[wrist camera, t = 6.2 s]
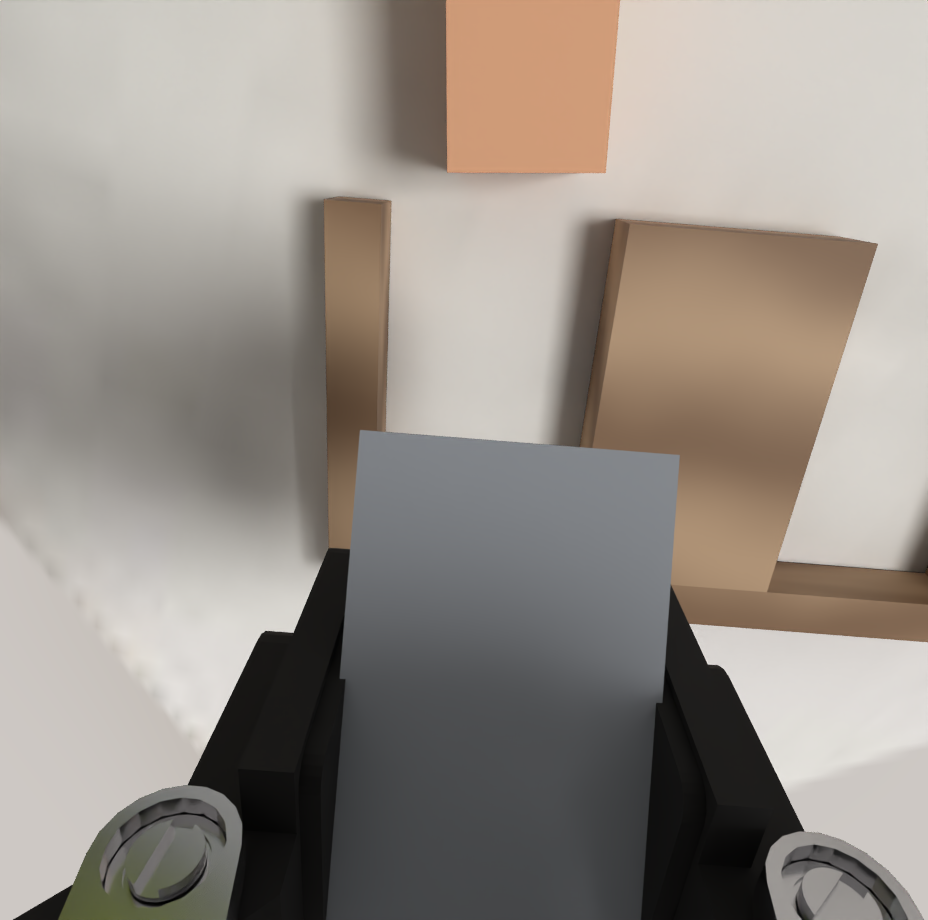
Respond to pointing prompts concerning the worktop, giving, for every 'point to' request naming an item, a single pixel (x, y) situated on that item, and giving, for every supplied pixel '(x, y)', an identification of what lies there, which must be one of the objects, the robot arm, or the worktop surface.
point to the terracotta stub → (529, 85)
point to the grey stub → (500, 679)
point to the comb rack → (672, 402)
